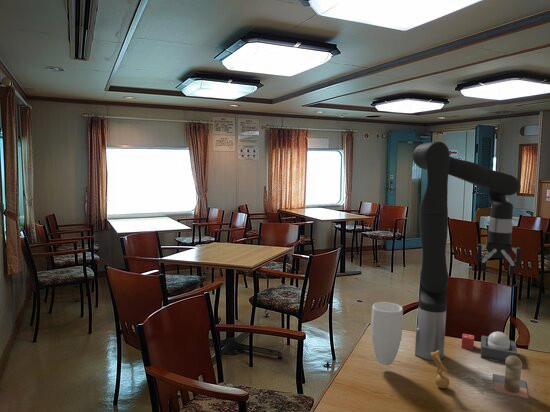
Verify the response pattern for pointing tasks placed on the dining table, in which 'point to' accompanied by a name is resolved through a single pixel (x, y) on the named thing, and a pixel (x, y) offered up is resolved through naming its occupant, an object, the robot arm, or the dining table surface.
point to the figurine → (440, 380)
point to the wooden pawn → (512, 374)
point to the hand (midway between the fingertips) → (496, 273)
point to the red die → (467, 341)
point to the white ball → (499, 340)
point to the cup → (386, 331)
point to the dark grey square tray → (496, 351)
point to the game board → (499, 387)
